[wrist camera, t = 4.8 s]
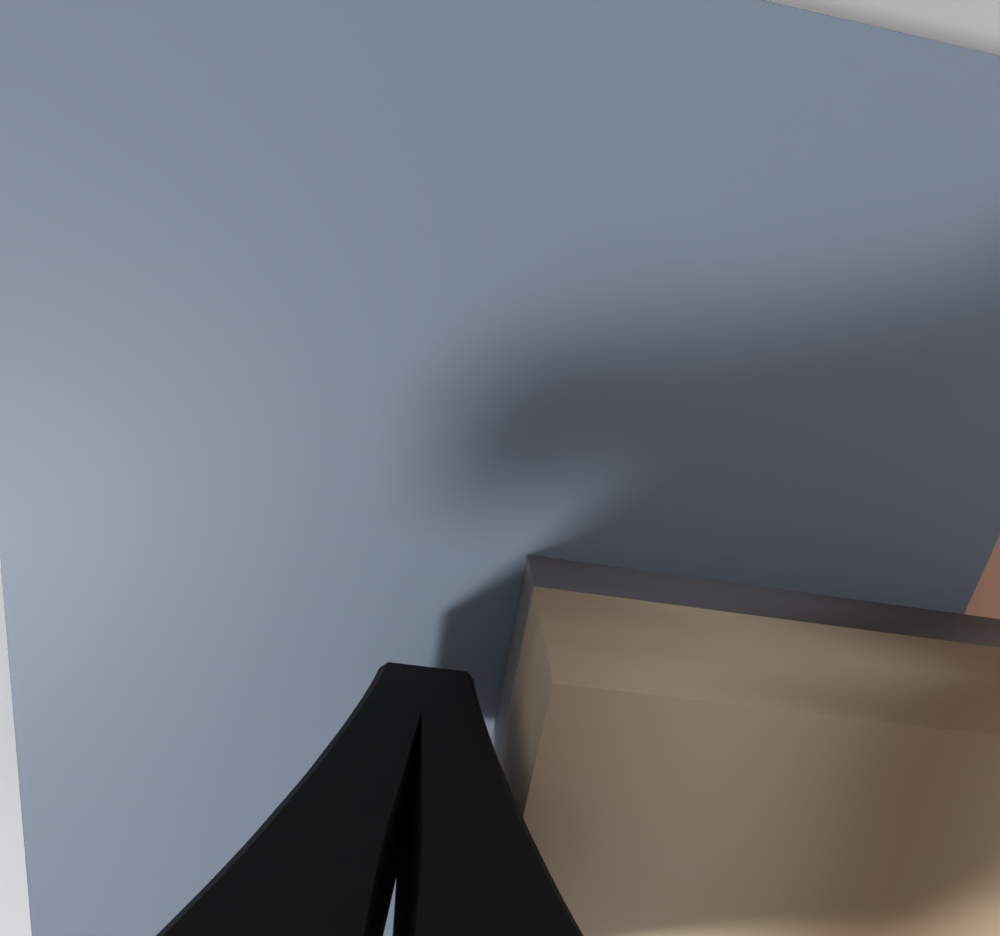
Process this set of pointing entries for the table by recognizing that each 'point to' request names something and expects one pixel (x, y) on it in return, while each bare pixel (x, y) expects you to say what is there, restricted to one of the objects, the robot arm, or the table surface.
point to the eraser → (752, 756)
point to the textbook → (448, 364)
